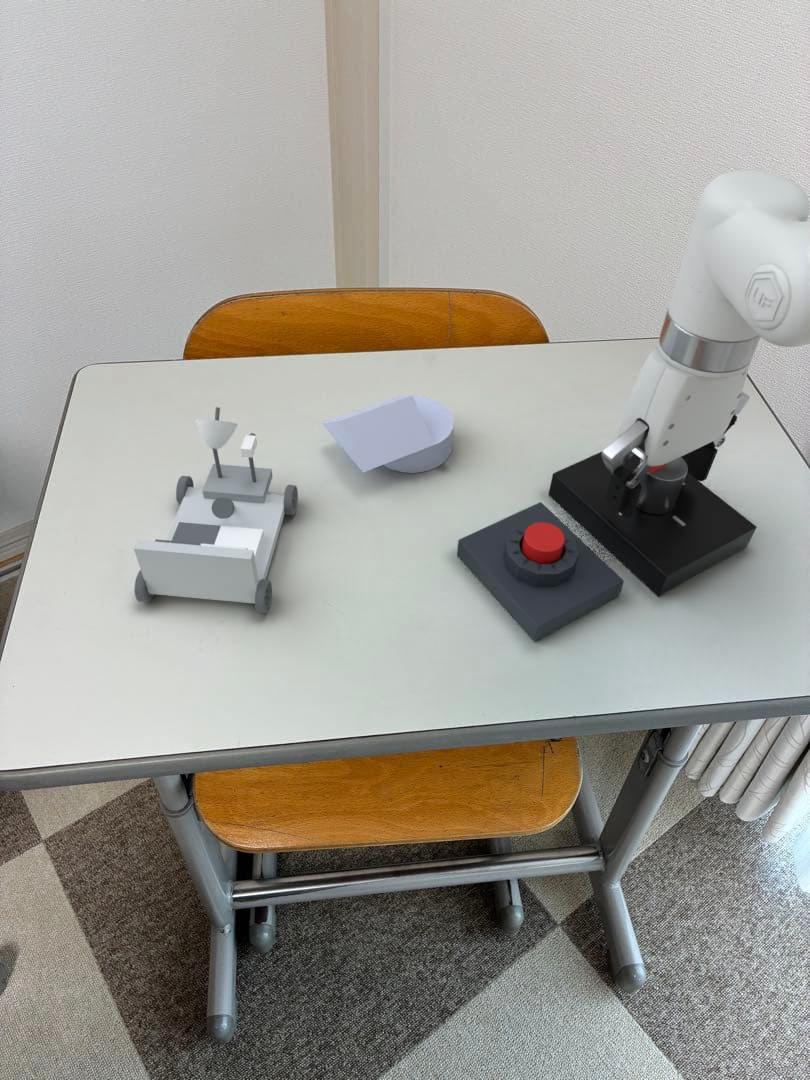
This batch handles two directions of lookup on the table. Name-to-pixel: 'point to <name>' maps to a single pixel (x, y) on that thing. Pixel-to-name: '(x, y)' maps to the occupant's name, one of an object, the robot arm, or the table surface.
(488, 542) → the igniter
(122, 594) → the table surface
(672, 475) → the burner knob
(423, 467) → the wedge on round base
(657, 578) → the stove panel
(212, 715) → the table surface
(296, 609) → the table surface
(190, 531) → the toy car
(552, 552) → the button
